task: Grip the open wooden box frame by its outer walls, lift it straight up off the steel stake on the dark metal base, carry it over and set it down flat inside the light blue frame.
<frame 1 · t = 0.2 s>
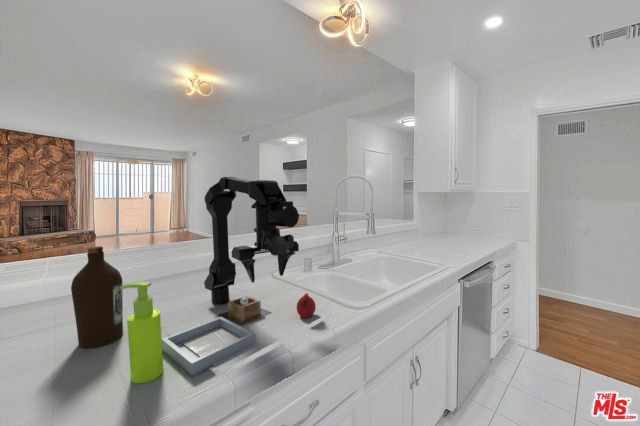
hand: (267, 278, 80), 14 cm above the worktop, fingers open, 9 cm apart
light blue frame: (209, 347, 70), on the worktop
onion: (306, 319, 85), on the worktop
olive oil: (102, 339, 75), on the worktop
stake base: (244, 317, 87), on the worktop
soap dispenser: (145, 375, 60), on the worktop
open wooden box frame: (244, 313, 87), point 1 cm above the worktop, touching stake base
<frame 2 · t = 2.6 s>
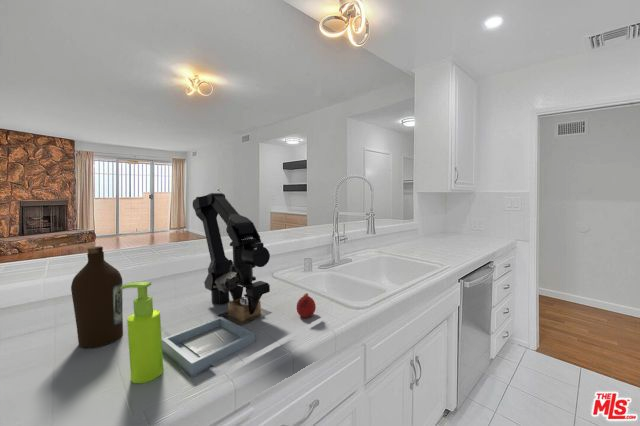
hand: (244, 310, 87), 2 cm above the worktop, fingers closed on open wooden box frame, 7 cm apart
open wooden box frame: (244, 313, 87), point 1 cm above the worktop, touching gripper, stake base
everything else where it was.
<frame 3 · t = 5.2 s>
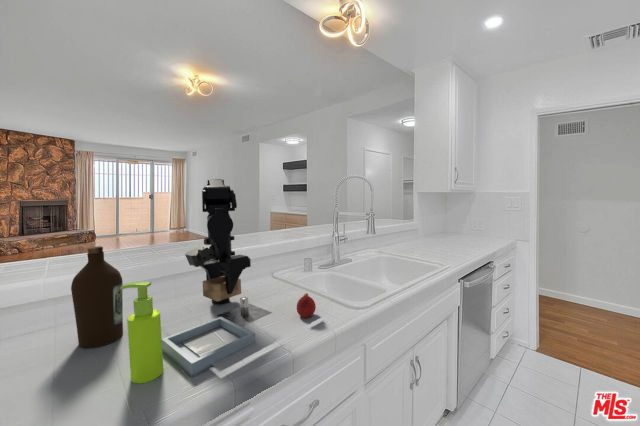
hand: (221, 291, 74), 13 cm above the worktop, fingers closed on open wooden box frame, 7 cm apart
open wooden box frame: (222, 294, 74), point 12 cm above the worktop, touching gripper
everything else where it was.
when the fingers open (3 cm above the worktop, at t = 8.2 s): open wooden box frame drops 2 cm, resting on light blue frame.
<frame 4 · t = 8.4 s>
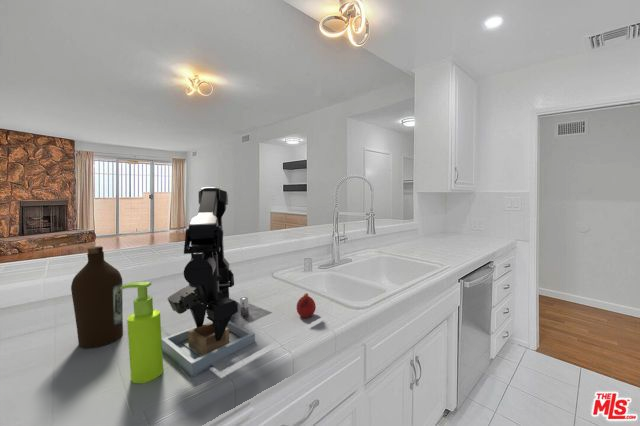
hand: (208, 334, 70), 3 cm above the worktop, fingers open, 9 cm apart
open wooden box frame: (209, 345, 70), point 1 cm above the worktop, touching light blue frame
everything else where it was.
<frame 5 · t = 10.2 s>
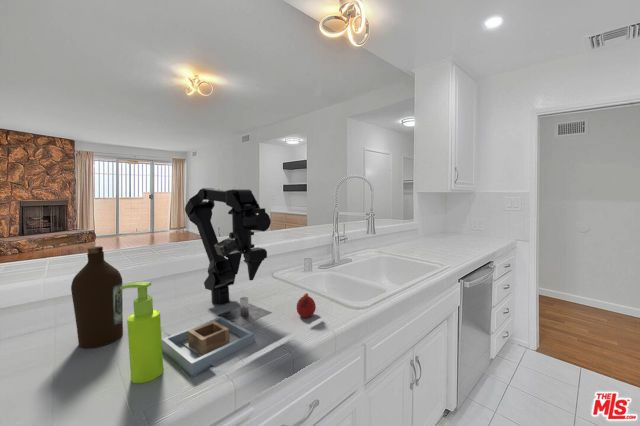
hand: (243, 277, 90), 12 cm above the worktop, fingers open, 9 cm apart
nothing on the worktop moved.
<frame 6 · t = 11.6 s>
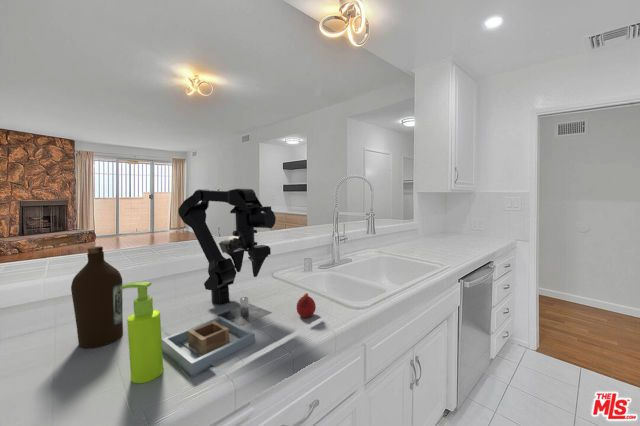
hand: (246, 274, 92), 12 cm above the worktop, fingers open, 9 cm apart
nothing on the worktop moved.
at the end: open wooden box frame inside the target area on the light blue frame (0.1 cm from its centre), point 0.6 cm above the light blue frame's base; open wooden box frame tilted 0°; the gripper is holding nothing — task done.
